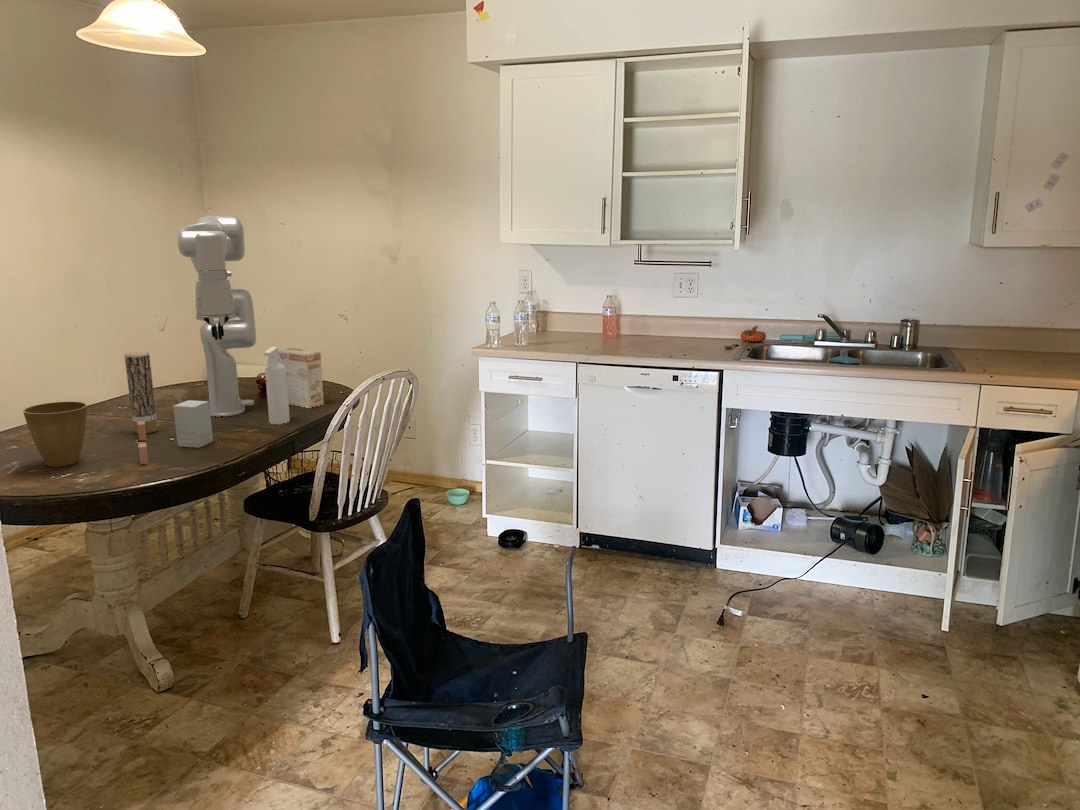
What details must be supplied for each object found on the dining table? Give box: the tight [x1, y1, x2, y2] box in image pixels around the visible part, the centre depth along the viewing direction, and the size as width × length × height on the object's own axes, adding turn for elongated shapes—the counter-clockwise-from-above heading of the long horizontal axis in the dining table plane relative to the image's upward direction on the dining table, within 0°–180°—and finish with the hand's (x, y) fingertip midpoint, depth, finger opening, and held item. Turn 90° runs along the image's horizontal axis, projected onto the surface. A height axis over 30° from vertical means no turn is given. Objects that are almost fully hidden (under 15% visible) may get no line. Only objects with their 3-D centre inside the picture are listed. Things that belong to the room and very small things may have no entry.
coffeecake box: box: [277, 347, 325, 409], centre depth 286 cm, size 15×7×20 cm, turn 58°
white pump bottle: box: [263, 346, 291, 425], centre depth 263 cm, size 7×12×25 cm, turn 175°
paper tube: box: [124, 351, 159, 435], centre depth 250 cm, size 7×7×25 cm
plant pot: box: [22, 401, 88, 468], centre depth 220 cm, size 15×15×16 cm
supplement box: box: [172, 399, 214, 449], centre depth 238 cm, size 7×7×13 cm
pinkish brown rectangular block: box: [137, 421, 149, 466], centre depth 233 cm, size 2×30×5 cm, turn 27°
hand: (218, 338), depth 236 cm, fingers closed
